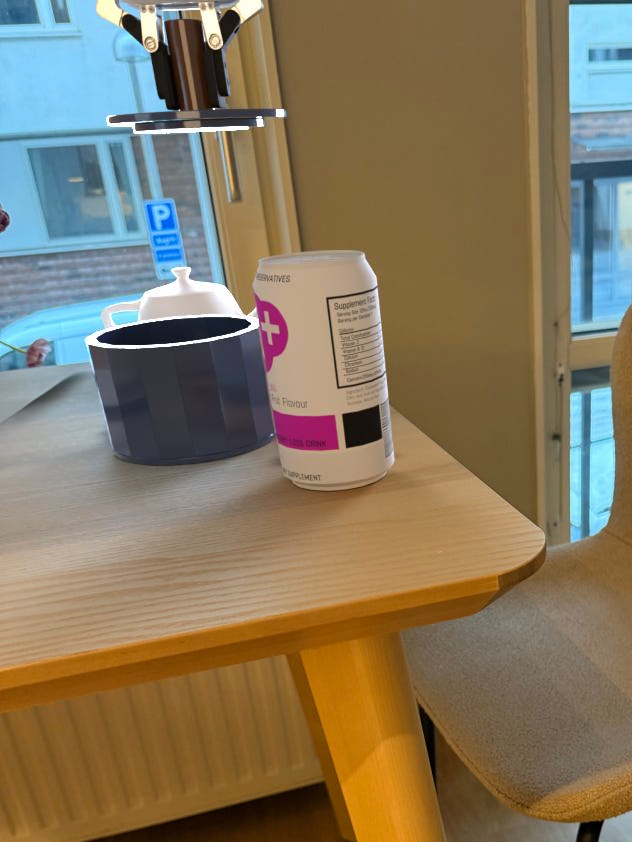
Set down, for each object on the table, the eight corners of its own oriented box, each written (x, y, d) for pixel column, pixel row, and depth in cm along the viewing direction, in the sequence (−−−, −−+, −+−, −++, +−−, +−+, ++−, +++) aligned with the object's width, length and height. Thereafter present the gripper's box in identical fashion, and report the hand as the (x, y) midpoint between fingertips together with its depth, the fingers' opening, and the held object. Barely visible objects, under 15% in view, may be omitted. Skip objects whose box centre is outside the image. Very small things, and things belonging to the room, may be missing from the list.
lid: (86, 133, 72) (60, 13, 68) (136, 135, 84) (117, 34, 81) (276, 124, 72) (261, 4, 68) (297, 127, 85) (285, 27, 81)
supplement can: (289, 500, 64) (252, 269, 57) (279, 465, 71) (245, 255, 64) (404, 484, 66) (383, 257, 58) (383, 452, 73) (362, 246, 66)
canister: (91, 470, 72) (60, 352, 68) (138, 423, 84) (114, 320, 80) (265, 459, 73) (246, 341, 68) (287, 413, 85) (272, 310, 80)
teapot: (288, 342, 115) (275, 254, 110) (290, 363, 104) (276, 266, 99) (120, 358, 112) (100, 268, 107) (106, 380, 101) (82, 281, 96)
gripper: (268, -166, 72) (300, 106, 81) (55, -158, 72) (111, 115, 80) (253, -197, 66) (290, 102, 74) (19, -189, 65) (83, 112, 74)
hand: (196, 106), depth 77 cm, fingers closed on lid, 3 cm apart
